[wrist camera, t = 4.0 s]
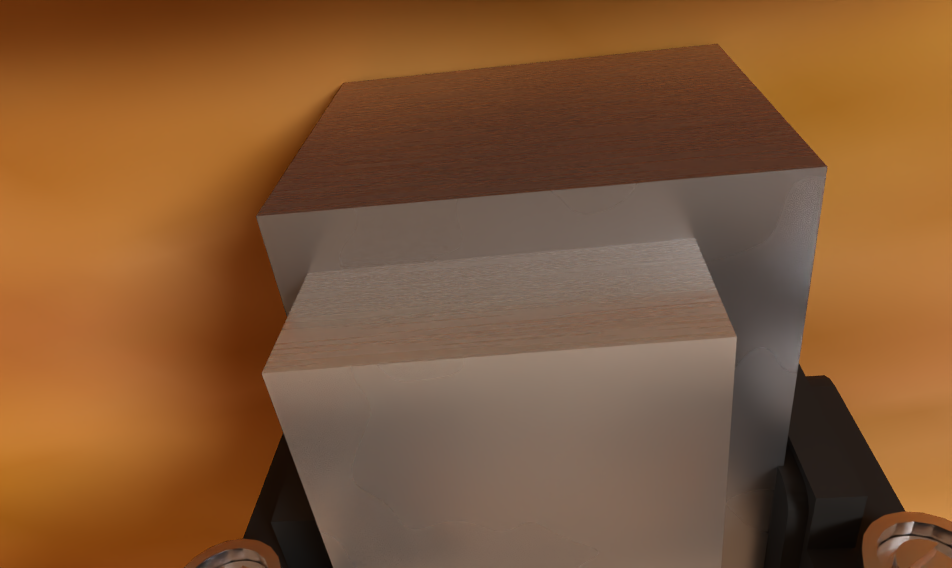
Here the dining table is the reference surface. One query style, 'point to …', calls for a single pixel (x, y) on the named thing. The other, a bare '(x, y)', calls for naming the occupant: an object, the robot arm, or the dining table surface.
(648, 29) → the dining table surface
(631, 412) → the cover
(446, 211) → the housing base
